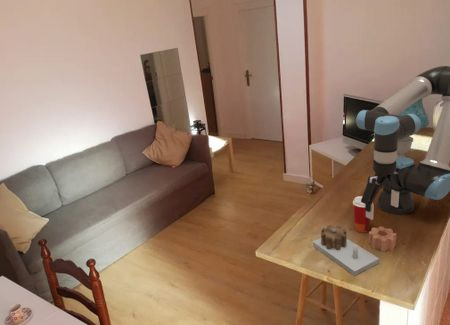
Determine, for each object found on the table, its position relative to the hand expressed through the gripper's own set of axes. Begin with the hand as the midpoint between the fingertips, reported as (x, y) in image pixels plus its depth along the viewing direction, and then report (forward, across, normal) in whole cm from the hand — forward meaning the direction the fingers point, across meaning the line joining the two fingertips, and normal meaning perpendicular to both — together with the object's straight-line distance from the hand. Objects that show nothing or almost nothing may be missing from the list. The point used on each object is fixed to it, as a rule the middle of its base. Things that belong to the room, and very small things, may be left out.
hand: (382, 211), depth 129 cm
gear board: (+15, +15, -4) cm, 22 cm away
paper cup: (+15, -3, -12) cm, 19 cm away
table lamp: (+16, -67, -42) cm, 81 cm away
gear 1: (+13, +15, -10) cm, 22 cm away
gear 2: (+15, -1, 0) cm, 15 cm away
